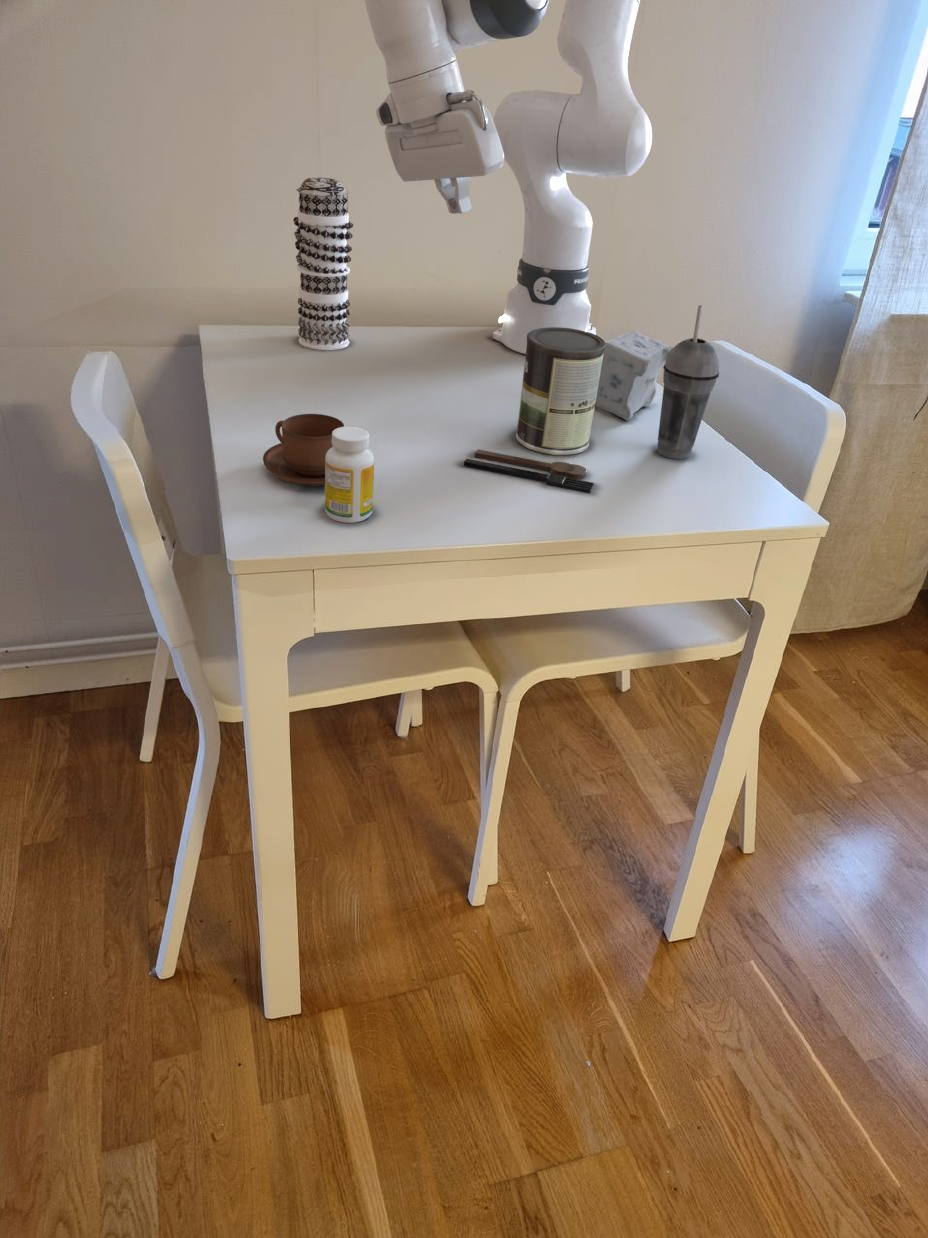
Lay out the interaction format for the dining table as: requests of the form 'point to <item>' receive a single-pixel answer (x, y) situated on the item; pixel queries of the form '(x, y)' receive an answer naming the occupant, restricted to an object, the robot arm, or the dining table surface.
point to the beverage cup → (686, 393)
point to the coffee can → (559, 390)
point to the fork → (533, 475)
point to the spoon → (537, 464)
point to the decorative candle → (323, 263)
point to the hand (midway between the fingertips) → (461, 212)
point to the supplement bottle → (349, 476)
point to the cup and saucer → (302, 448)
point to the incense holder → (630, 373)
